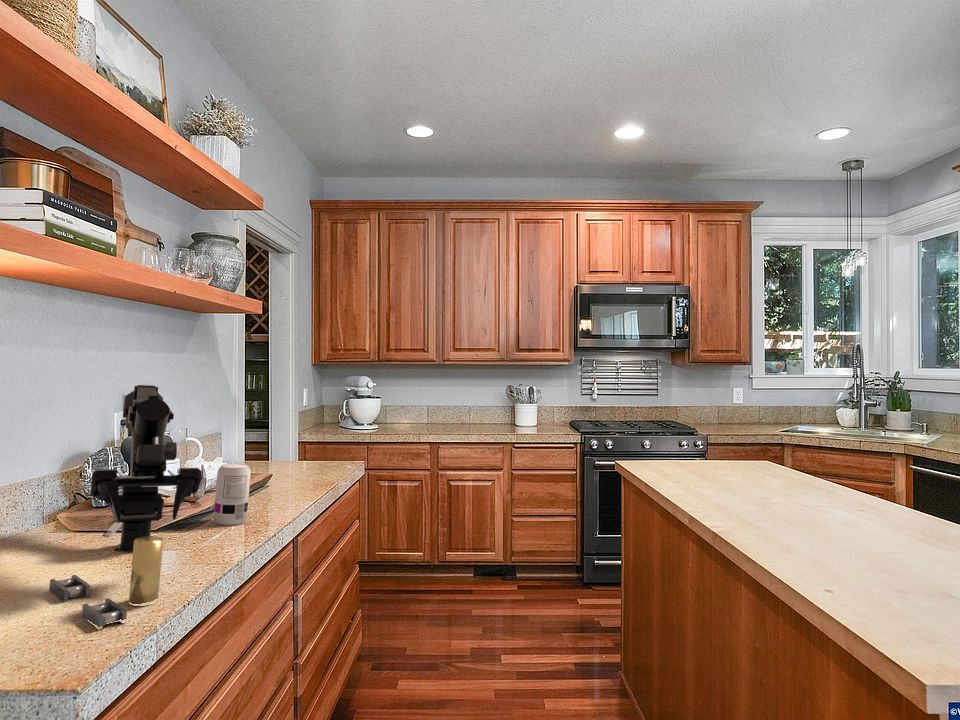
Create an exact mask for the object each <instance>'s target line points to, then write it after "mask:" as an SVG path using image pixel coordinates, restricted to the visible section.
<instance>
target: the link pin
mask: <svg viewBox="0 0 960 720" xmlns="http://www.w3.org/2000/svg"><path fill="white" fill-rule="evenodd" d="M163 547H164V538H163V537H161V536H155V535H150V536H146V537H140V538H137V539H135V540H134V547H133V551H132V561H131V568H130V571H131V572H130V583H129V592H128V595H129V596H128V603H129V602H130V603H132V604H142V603H147V602H151V601H153V600H155V599H157V598H158V599H159V593H160V592H159V591H160V583H161V582H160V579H161V570H162V557H163Z"/></svg>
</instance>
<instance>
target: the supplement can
mask: <svg viewBox="0 0 960 720" xmlns="http://www.w3.org/2000/svg"><path fill="white" fill-rule="evenodd" d="M216 473H217V475H216V488H215V495H214V496H215V497H214V509H213V521H214V522H215V524H217V525H220V526H238V525H241V524H244V522H246V520H247V519H248V509H249V508H248V506H249V495H250V481H251V474H252V473H251V470H250V467H249V465H248V464H245V463H238V462H237V463H235V462H234V463H232V462H231V463H222V464H220V466H219V468H218V470H217V472H216Z"/></svg>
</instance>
